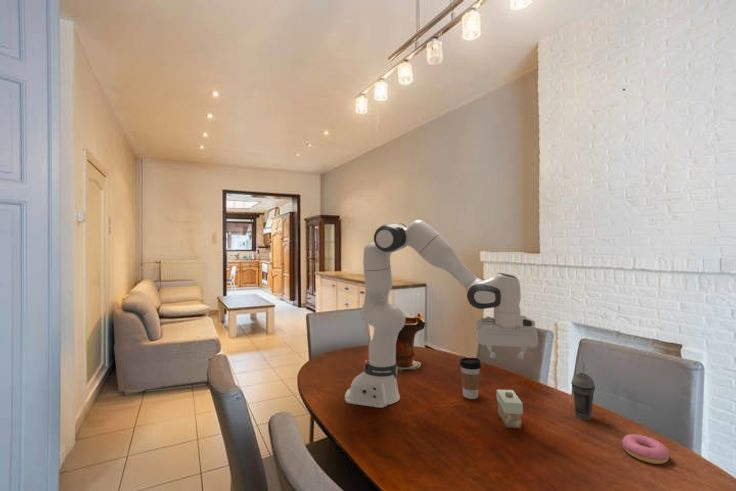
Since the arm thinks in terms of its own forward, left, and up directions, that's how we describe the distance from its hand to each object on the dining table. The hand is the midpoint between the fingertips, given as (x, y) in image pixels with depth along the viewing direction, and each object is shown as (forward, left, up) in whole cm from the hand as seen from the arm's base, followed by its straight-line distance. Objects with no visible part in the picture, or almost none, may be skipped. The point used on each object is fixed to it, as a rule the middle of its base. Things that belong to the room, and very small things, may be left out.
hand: (506, 358), depth 121 cm
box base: (+1, 0, -22) cm, 22 cm away
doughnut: (+35, -16, -22) cm, 44 cm away
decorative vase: (-37, +54, -22) cm, 69 cm away
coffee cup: (-9, +19, -22) cm, 31 cm away
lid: (+1, 0, -17) cm, 17 cm away
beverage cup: (+28, +5, -22) cm, 36 cm away
